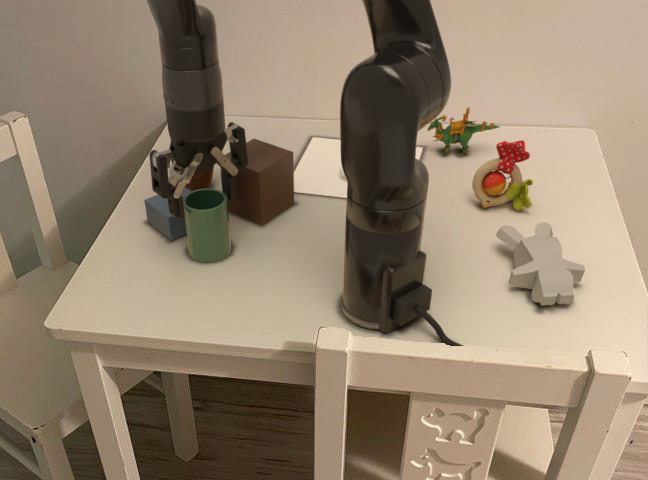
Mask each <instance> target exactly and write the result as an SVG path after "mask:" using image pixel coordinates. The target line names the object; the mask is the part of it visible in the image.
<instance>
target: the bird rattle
mask: <svg viewBox="0 0 648 480" xmlns="http://www.w3.org/2000/svg"><path fill="white" fill-rule="evenodd" d="M496 151H497V155H498V158H493V159H489V160H488V161H486V162H484V163H483V164H481V166H479V168H478V169H477V170H476V171H475V173H474V175H473V178H472V190H473V192H474V196H475V197H476V199H477V200H478V201H480V204H481V207H482V208H483V209H487V208H489V207H491V206H493V207H494V206H495V207H496V206H500V205H505V204H506V203H508V202H510V201H512V200H513V209H514V210H515V211H518V212H520V211H522V210H523V209H524V208H526V209H529V208H532V206H533V205H532V201H531V199H530V197H529V196H528V195H529V187H530V186H532V185H534V181H533V179H530V178H528V179H525V180H523V175H522V172H521V170H520V168H519V166H518V165H517V163H522V162H525V161H527V160H529V159H530V157H531V153H530V152H528V151H527V150H526V142H525V141H524V140H523V139H521V140H516V141H513V142H512V141H511V142H510V141H506V140H504V141H501V142H498V143H496ZM504 174H506V175H508V176H507V177H506V176H505V175H504ZM507 179H510V181H509V182H508V185H507ZM506 187H507V188H506Z"/></svg>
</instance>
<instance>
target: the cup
mask: <svg viewBox="0 0 648 480" xmlns="http://www.w3.org/2000/svg"><path fill="white" fill-rule="evenodd" d="M183 205H184V213H185V219H184V221H185V229H186V235H185V236H186V244H187V249H188V254H189V256H190V257H191V258H192V260H195V261H197V262H201V263H215V262H219V261H221V260H224V259H225V258H227V257H228V256H229V255H230V253H231V252H232V238H231V225H230V214H229V213H230V212H229V211H228V200H227V196H226V194H225V193H224V192H222V190H220V189H217V188H209V187H207V188H203V189H197V190H194V191H192V192H189V193H188V194H186V195H185V196H184V197H183Z"/></svg>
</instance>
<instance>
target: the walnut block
mask: <svg viewBox="0 0 648 480" xmlns="http://www.w3.org/2000/svg"><path fill="white" fill-rule="evenodd" d="M246 146H247V156H248V165H247V166H246V167H245V168H243V167H241V168H240V169H239V170H238V173H237V174H236V182H237V192H236V194H235V198H234V199H232V200H229V199H227V200H228V212H229V213H231V214H234V215H236V216H239V217H241V218H243V219H246V220H248V221H250V222H253V223H256V224H258V225H260V226H264V225H265V224H267V223H268V222H269V221H271V220H273V219H274V218H275V217H277V216H278V215H280V214H281V213H283V212H284V211H286V210H287V209H289V208H291V207H292V206H293V205H295V192H294V171H295V169H294V168H295V167H294V166H295V165H294V164H295V163H294V151H292V150H289V149H287V148H283V147H280V146H277V145H275V144H271V143H269V142H266V141H263V140H260V139H256V138H252V139H250V140H249V141H246ZM224 155H225V156H226V157H227V158H228V159H229V160H230V159H231V152H230V151H229V152H227V153H225V154H224ZM219 167H220V166H219ZM221 172H223V169H222V168H221V167H220V173H221Z"/></svg>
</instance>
